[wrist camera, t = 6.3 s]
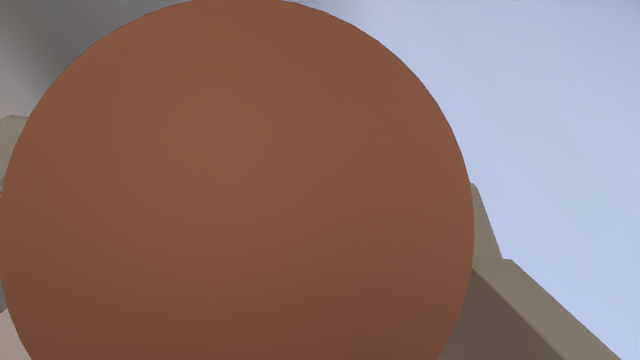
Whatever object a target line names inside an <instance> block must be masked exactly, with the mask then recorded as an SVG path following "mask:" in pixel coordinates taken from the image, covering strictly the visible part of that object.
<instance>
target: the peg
mask: <svg viewBox="0 0 640 360" xmlns="http://www.w3.org/2000/svg"><path fill="white" fill-rule="evenodd" d="M474 241H475V235H474V208H473V201H472V194H471V187H470V181H469V178H468V174H467V170H466V167H465V163H464V160H463V156H462V153H461V151H460V148H459V146H458V143H457V141H456V139H455V136H454V134H453V131H452V129H451V127H450V125H449V123H448V122H447V120H446V118H445V116H444V114H443V113H442V111H441V109H440V107H439V106H438V104H437V102H436V101H435V100H434V98H433V97H432V96H431V94H430V93H429V91H428V90H427V89H426V87H425V86H424V85H423V83H422V82H421V81H420V79H419V78H418V77H417V76H416V75H415V74H414V73H413V72H412V71H411V70H410V69H409V68H408V67H407V66H406V65H405V64H404V63H403V62H402V61H401V60H400V59H399V58H398V57H397V56H396V55H395V54H393V53H392V52H391V51H390V50H388V49H387V48H386V47H385V46H384V45H382V44H381V43H380V42H379V41H377V40H376V39H374V38H373V37H371V36H369V35H368V34H366V33H365V32H363V31H361V30H360V29H358V28H357V27H355V26H353V25H352V24H350V23H347V22H345V21H343V20H341V19H339V18H337V17H335V16H332V15H330V14H328V13H326V12H323V11H320V10H317V9H314V8H310V7H307V6H304V5H301V4H298V3H293V2H288V1H282V0H195V1H190V2H185V3H180V4H176V5H173V6H170V7H167V8H164V9H161V10H158V11H155V12H152V13H149V14H146V15H144V16H142V17H140V18H138V19H136V20H134V21H132V22H130V23H128V24H126V25H124V26H122V27H120V28H118V29H116V30H115V31H113V32H112V33H110V34H109V35H107V36H106V37H104V38H103V39H101V40H100V41H98V42H97V43H95V44H94V45H92V46H91V47H90V48H89V49H87V50H86V51H85V52H84V53H83V54H82V55H81V56H79V57H78V58H77V59H76V60H75V61H74V62H73V63H71V64H70V65H69V66H68V67H67V68H66V69H65V70H64V71H63V73H62V74H61V75H60V76H59V77H58V78H57V79H56V81H55V82H54V83H53V84H52V85H51V86H50V87H49V89H48V90H47V91H46V92H45V94H44V95H43V97H42V98H41V100H40V101H39V103H38V104H37V106H36V107H35V109H34V110H33V112H32V113H31V115H30V116H29V118H28V120H27V122H26V124H25V126H24V128H23V130H22V132H21V134H20V136H19V138H18V140H17V142H16V144H15V146H14V149H13V152H12V155H11V158H10V161H9V164H8V167H7V170H6V174H5V177H4V180H3V186H2V191H1V197H0V279H1V283H2V287H3V291H4V295H5V299H6V303H7V307H8V311H9V313H10V316H11V318H12V321H13V323H14V326H15V328H16V330H17V333H18V335H19V338H20V340H21V342H22V344H23V346H24V347H25V349H26V351H27V352H28V354H29V356H30V357H31V359H32V360H437V358H438V357H439V355H440V354H441V352H442V350H443V348H444V346H445V344H446V342H447V340H448V338H449V337H450V335H451V333H452V331H453V329H454V327H455V324H456V322H457V319H458V316H459V313H460V311H461V308H462V305H463V302H464V300H465V296H466V292H467V287H468V283H469V279H470V274H471V270H472V261H473V251H474Z"/></svg>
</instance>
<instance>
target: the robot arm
mask: <svg viewBox="0 0 640 360" xmlns="http://www.w3.org/2000/svg"><path fill="white" fill-rule="evenodd" d="M28 118H29V117H24V116H18V115H12V114H11V115H9V116H6V117H4V118H3V119H1V121H0V197H1V191H2V186H3V180H4V177H5V174H6V170H7V167H8V164H9V161H10V158H11V155H12V152H13V149H14V146H15V144H16V142H17V140H18V138H19V136H20V134H21V132H22V130H23V128H24V126H25V124H26V122H27V120H28ZM470 187H471V194H472V201H473V208H474V235H475V241H474V251H473V261H472V270H471V274H470V279H469V283H468V287H467V292H466V296H465V300H464V302H463V305H462V308H461V311H460V313H459V316H458V319H457V322H456V324H455V327H454V329H453V331H452V333H451V335H450V337H449V338H448V340H447V342H446V344H445V346H444V348H443V350H442V352H441V354H440V355H439V357H438V358H437V360H621V359H620V358H619V357H618V356H617V355H616V354H615V353H613V352H612V351H611V350H610V349H609V348H608V347H607V346H606V345H605V344H604V343H602V342H601V341H600V340H599V339H598V338H597V337H596V336H595V335H594V334H593V333H591V332H590V331H589V330H588V329H587V328H586V327H585V326H584V325H583V324H582V323H580V322H579V321H578V320H577V319H576V318H575V317H574V316H573V315H572V314H571V313H570V312H568V311H567V310H566V309H565V308H564V307H563V306H562V305H561V304H560V303H559V302H557V301H556V300H555V299H554V298H553V297H552V296H551V295H550V294H549V293H548V292H546V291H545V290H544V289H543V288H542V287H541V286H540V285H539V284H538V283H537V282H535V281H534V280H533V279H532V278H531V277H530V276H529V275H528V274H527V273H526V272H524V271H523V270H522V269H521V268H520V267H519V266H518V265H517V264H516V263H515V262H514V261H512V260H508V259H503V258H502V255H501V252H500V249H499V247H498V244H497V241H496V238H495V236H494V233H493V230H492V227H491V224H490V222H489V219H488V216H487V213H486V210H485V208H484V205H483V202H482V199H481V197H480V194H479V191H478V188H477V187H476V186H475V185H474V184H473V183H470ZM6 308H8V307H7V303H6V299H5V295H4V291H3V287H2V283H1V279H0V313H1V312H3V311H4V310H5V309H6Z"/></svg>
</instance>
